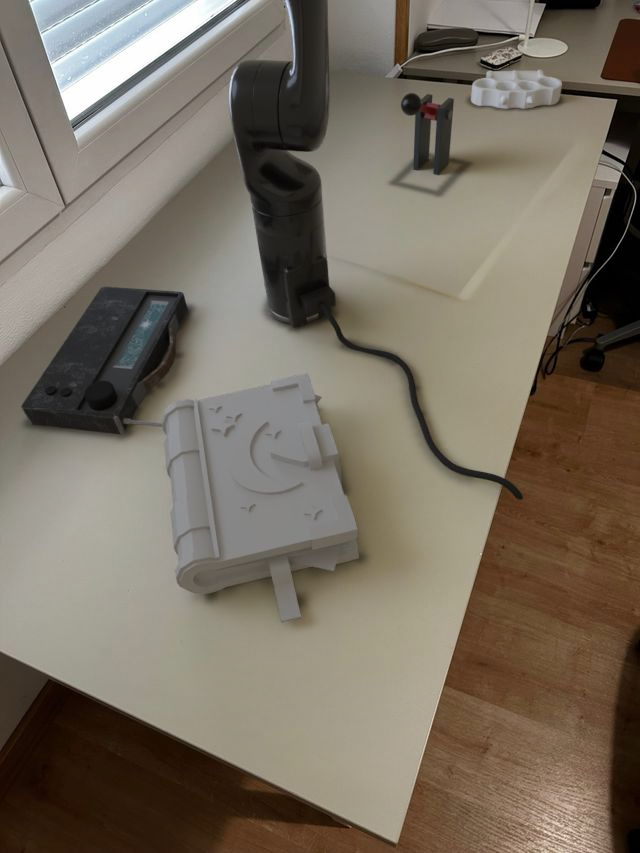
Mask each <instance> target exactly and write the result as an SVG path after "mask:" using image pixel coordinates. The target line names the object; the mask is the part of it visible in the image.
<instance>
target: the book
mask: <svg viewBox="0 0 640 853" xmlns="http://www.w3.org/2000/svg"><path fill="white" fill-rule="evenodd" d="M322 398H323V397H322V396H320V395H318V394H315V391H314V387H313V384H312V379H311V377H310V375H309V373H308V372H307V373H300V374H296V375H295V374H294V375H291V376H287V377H284V378H283V377H282V378H280V379H276V380H272V381H270V384H264V385H261V386H256V387H251V388H247V389H243V390H238V391H237V390H236V391H233V392H229V393H225V394H224V393H223V394H219V395H215V396H211V397H206V398H201V399H190V398H189V399H188V398H187V399H182V400H175V401H174V402H172V403H171V404H170V405H169V406H167V407H166V408H165V409H164V410H163V414H162V418H161V423H162V427H161V428H162V431H163V433H164V434H165V436H166V438H165V441H164V453H165V463H166V464H165V465H166V472H167V476H168V477H169V479H170V487H171V498H172V508H171V511H170V520H171V529H172V541H173V550H174V552H175V554H176V555H177V559H178V563H177V566H176V569H175V580H176V584H177V586H179V587H180V588H182V589H184V590H185V591H188V592H190V593H193V594H204V595H205V594H206V595H209V594H213V593H215V592H219V591H222V590H223V589H225V588H228V587H232V586H236V585H237V586H238V585H241V584H245V583H249V582H252V581H257V580H261V579H265V578H270V577H271V579H272V585H273V588H274V594H275V597H276V598H275V599H276V603H277V607H278V612H279V617H280V622H281V623H287V622H290V621H295V620H298V619H302V615H301V610H300V606H299V602H298V597H297V593H296V588H295V583H294V579H293V575H292V572H294V571H299V570H303V569H307V568H311V567H314V568H315V569H322V570H327V571H332V572H335V570H336V566H337V565H338V564H344V563H347V562H351V561H355V560H358V559H360V553H359V545H358V534H359V531H358V526H357V521H356V518H355V515H354V512H353V509H352V507H351V503H350V501H349V499H348V496H347V494H345V493H344V489H343V487H342V478H343V477H342V475H343V474H342V467H341V466H342V465H341V462H340V455H339V451H338V448H337V445H336V442H335V438H334V436H333V432H332V430H331V427H330V423H328V422H327V423H324V424H322V420H321V417H320V414H319V410H318V409H319V405H318V403H319V402H320V401H321V400H322Z"/></svg>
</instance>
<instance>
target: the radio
mask: <svg viewBox="0 0 640 853" xmlns="http://www.w3.org/2000/svg"><path fill="white" fill-rule="evenodd" d="M188 312H189V308H188V304H187V301H186V298H185V294H184V291H175V290H161V289H147V288H146V289H145V288H132V287H118V286H117V287H116V286H101V287H100V288H99V289H98V291H97V293H96V294H95V296H93V299H92V300H91V302H90V303H89V305H88V306H87V307H86V309H85V311H83V314H82V315H81V316H80V318H79V319H78V321H77V322H76V324H75V325H74V327H73V329H71V331H70V333H69V334H68V336H67V337H66V339H65V340H64V342H63V343H62V345H61V346H60V347H59V349H58V351H57V352H56V354H55V355H54V356H53V358H52V359H51V361H50V362H49V364H48V365H47V367H46V368H45V370H43V372H42V375H40V377H39V379H38V381H36V383H35V385H34V386H33V387H32V389H31V391H30V392H29V394H27V396H26V398H25V399H24V400H23V403H22V404H21V406H20V409H21V410H22V412H23V413H24V415H25V416H26V418H27V419H28V421H29V423H30V424H31V425H33V426H34V425H35V426H42V427H43V426H44V427H52V428H61V429H62V428H63V429H71V430H77V431H79V430H80V431H88V432H97V433H104V434H105V433H106V434H113V435H124V434H125V433H126V431H127V429H128V427H129V426H130V425H139V426H149V427H150V426H151V427H158V428H163V427H162V422H156V421H148V420H138V419H133V417H134V415H135V413H136V411H137V409H138V408H139V407H140V405H141V403H142V402H143V400H144V398H145V397H146V395H147V392H149V391H150V390H151V389H152V388H153V387H155V386H156V385H157V384H158V383H160V382H161V381H162V380H164V378H165V377H166V376H167V375H168V374H169V372H170V371H171V369H172V367H173V366H174V363H175V360H176V355H177V346H176V339H175V338H176V337H177V334H178V332H179V328H180V326H181V324H182V323H183V321H184V319H185V317H186V314H187V313H188Z"/></svg>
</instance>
